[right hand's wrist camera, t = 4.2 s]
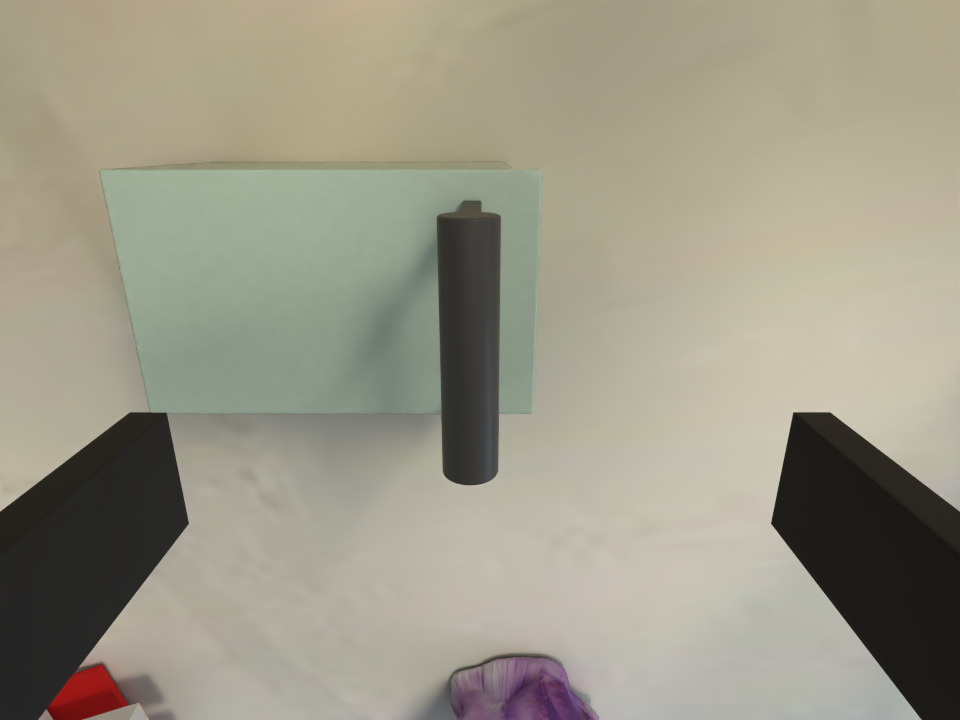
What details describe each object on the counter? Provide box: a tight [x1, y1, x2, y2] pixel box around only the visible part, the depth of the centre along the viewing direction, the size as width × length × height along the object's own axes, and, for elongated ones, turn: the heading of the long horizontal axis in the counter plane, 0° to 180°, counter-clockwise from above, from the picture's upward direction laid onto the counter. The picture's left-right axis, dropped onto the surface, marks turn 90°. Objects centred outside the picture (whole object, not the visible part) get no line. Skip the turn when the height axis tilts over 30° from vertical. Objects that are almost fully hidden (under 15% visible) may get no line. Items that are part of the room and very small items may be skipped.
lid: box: [99, 169, 542, 485], centre depth 20 cm, size 16×10×8 cm, turn 90°
